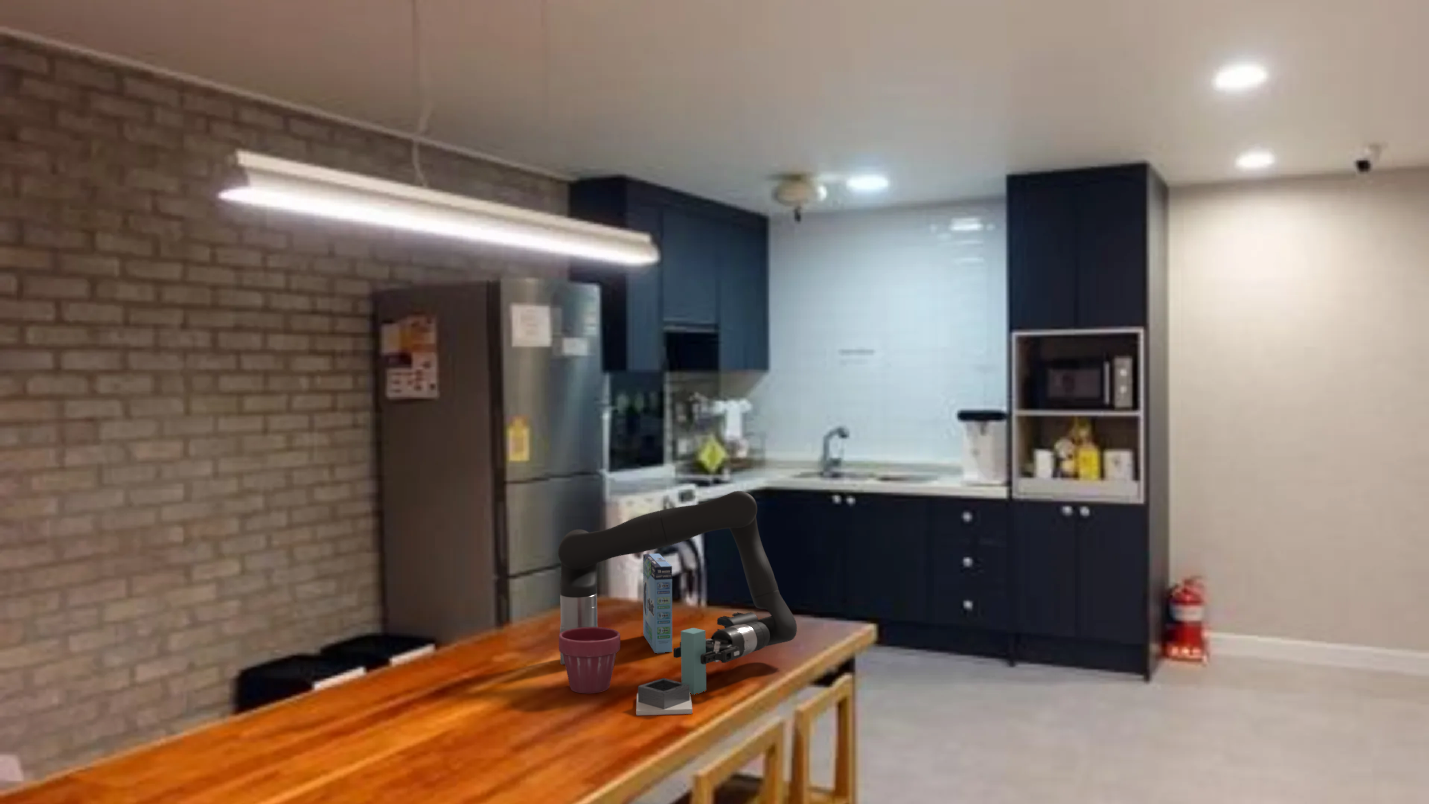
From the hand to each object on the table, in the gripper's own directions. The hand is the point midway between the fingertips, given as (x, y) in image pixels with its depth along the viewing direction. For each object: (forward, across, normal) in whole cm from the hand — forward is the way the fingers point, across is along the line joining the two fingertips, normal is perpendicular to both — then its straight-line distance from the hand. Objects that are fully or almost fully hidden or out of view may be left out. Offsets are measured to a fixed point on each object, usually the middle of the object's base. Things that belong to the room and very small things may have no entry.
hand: (687, 656), depth 244 cm
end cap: (-44, -23, +9) cm, 50 cm away
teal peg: (-2, 0, +8) cm, 9 cm away
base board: (+10, +2, +8) cm, 13 cm away
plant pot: (+12, -20, +9) cm, 25 cm away
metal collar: (+10, +2, +8) cm, 13 cm away
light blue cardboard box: (-27, -36, +9) cm, 46 cm away
